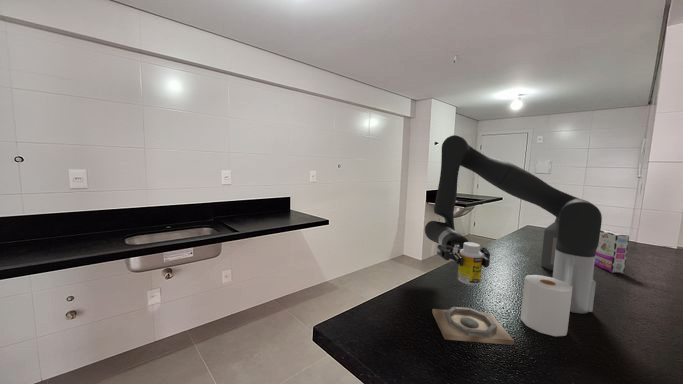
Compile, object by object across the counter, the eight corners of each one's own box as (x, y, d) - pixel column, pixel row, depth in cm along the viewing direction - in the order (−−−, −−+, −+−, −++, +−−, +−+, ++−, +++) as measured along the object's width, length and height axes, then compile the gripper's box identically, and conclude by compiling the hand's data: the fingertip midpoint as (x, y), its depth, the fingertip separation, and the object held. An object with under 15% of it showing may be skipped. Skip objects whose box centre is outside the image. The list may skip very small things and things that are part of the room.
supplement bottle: (472, 287, 68) (475, 248, 67) (453, 279, 72) (455, 242, 71) (484, 283, 71) (488, 245, 70) (465, 275, 75) (468, 240, 74)
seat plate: (490, 317, 76) (490, 308, 76) (513, 344, 64) (514, 335, 64) (432, 312, 77) (432, 304, 77) (444, 339, 65) (445, 330, 65)
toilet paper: (571, 342, 66) (577, 294, 65) (521, 327, 71) (525, 283, 70) (564, 322, 74) (569, 280, 73) (519, 310, 80) (523, 271, 79)
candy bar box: (625, 274, 112) (630, 235, 110) (611, 273, 112) (616, 234, 111) (603, 264, 123) (607, 229, 121) (591, 263, 124) (595, 228, 122)
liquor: (575, 273, 111) (584, 201, 108) (553, 272, 111) (561, 200, 108) (558, 265, 120) (565, 198, 117) (537, 264, 120) (544, 198, 117)
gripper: (430, 231, 85) (446, 247, 69) (477, 233, 84) (505, 250, 67) (429, 253, 86) (444, 275, 69) (476, 256, 85) (502, 279, 68)
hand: (474, 262), depth 68 cm, fingers closed on supplement bottle, 5 cm apart
